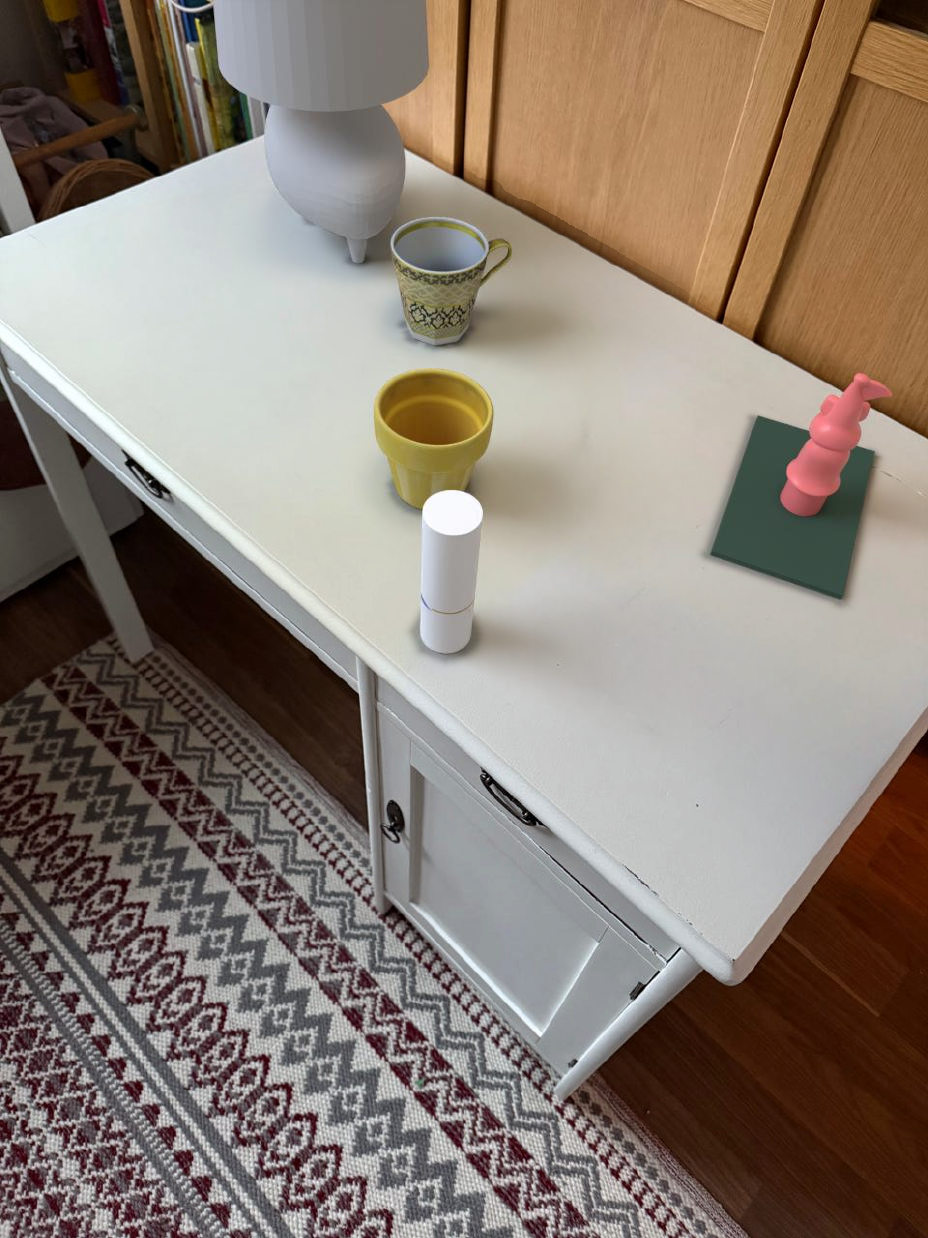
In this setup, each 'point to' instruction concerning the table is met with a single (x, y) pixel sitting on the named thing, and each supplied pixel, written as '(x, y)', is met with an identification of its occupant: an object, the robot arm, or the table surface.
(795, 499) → the figurine
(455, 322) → the ceramic cup
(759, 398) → the table surface
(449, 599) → the tube
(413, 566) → the table surface
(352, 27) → the table lamp
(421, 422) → the flower pot
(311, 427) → the table surface
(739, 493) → the mat
